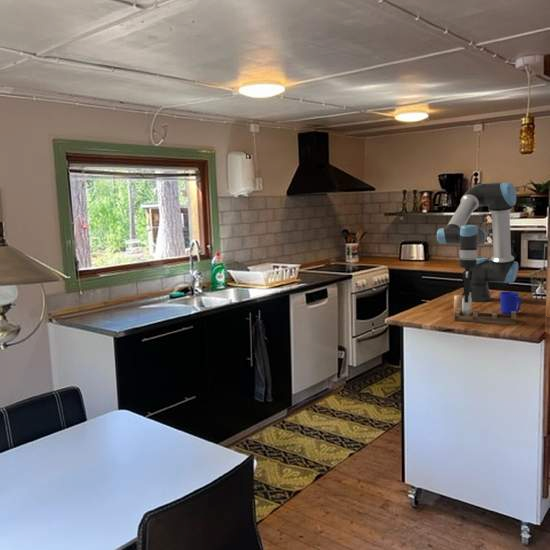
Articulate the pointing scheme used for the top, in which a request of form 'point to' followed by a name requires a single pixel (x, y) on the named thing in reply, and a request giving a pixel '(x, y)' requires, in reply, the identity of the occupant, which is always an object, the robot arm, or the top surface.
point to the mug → (509, 302)
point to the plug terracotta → (458, 302)
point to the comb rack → (487, 317)
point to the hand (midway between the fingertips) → (467, 307)
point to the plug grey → (467, 311)
